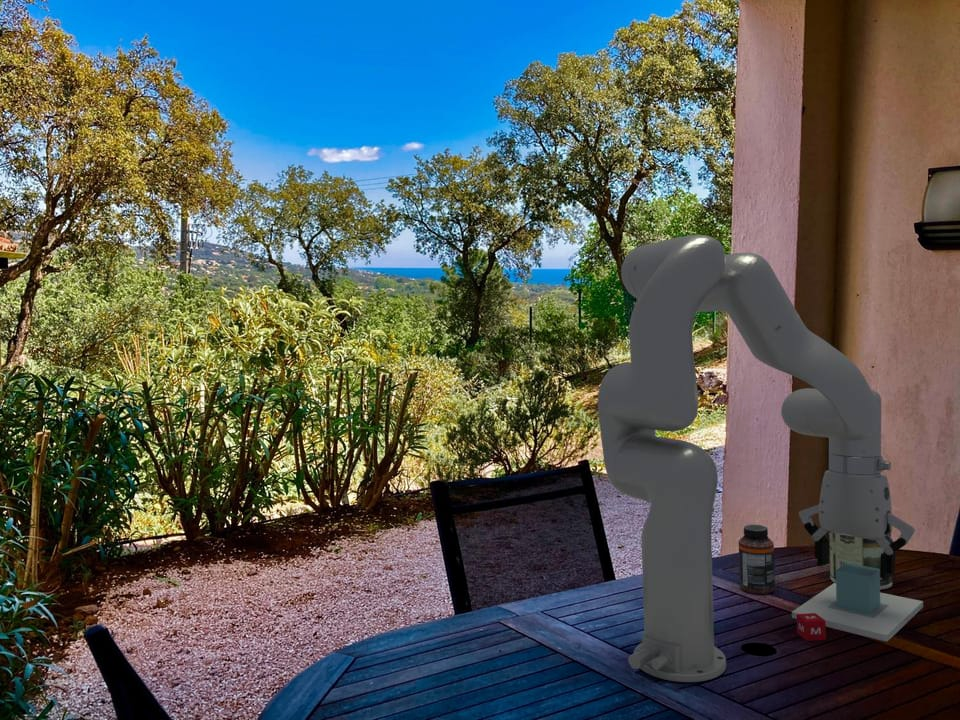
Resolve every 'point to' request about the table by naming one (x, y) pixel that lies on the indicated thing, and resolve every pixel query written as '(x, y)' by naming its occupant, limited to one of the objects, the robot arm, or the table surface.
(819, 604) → the pad
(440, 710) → the table surface
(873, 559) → the coffee can
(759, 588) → the supplement bottle
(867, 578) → the teal block
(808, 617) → the red letter cube
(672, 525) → the robot arm
